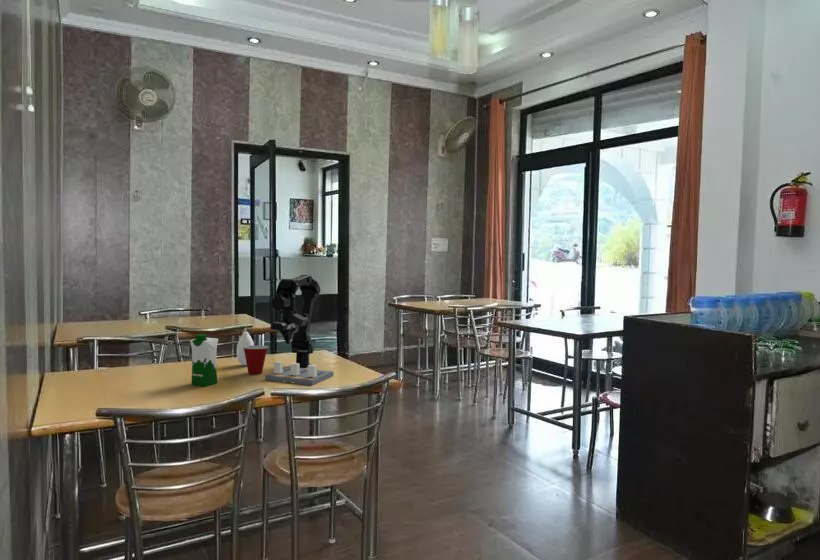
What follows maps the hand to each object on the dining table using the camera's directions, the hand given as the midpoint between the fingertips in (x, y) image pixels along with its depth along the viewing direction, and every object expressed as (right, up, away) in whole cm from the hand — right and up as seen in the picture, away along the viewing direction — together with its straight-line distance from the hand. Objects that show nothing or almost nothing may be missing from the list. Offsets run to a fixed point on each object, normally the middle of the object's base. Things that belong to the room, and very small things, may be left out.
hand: (288, 343), depth 244 cm
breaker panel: (+7, -14, -7) cm, 17 cm away
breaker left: (+13, -12, -14) cm, 22 cm away
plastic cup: (-14, -13, 0) cm, 19 cm away
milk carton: (-29, -14, -20) cm, 38 cm away
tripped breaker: (-2, -11, -8) cm, 14 cm away
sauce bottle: (-23, -12, +15) cm, 30 cm away
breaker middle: (+5, -12, -11) cm, 17 cm away
